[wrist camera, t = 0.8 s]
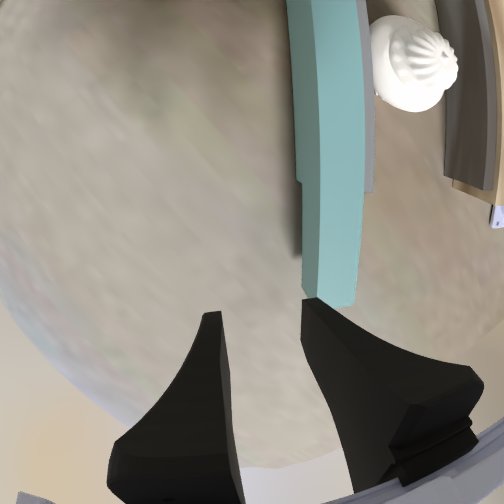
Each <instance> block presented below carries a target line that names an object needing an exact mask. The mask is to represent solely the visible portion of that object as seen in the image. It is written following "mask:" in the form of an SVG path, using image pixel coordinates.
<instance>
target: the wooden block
mask: <svg viewBox="0 0 504 504" xmlns="http://www.w3.org/2000/svg"><path fill="white" fill-rule="evenodd" d="M435 2H436V7H437V12H438V18H439V25H440V31H441V36H442V37H443V39H446V40H448V42H449V46H450V47H452V48H453V49H454V55H455V56H456V57H457V62H456V63H457V65H458V72H457V78H456V80H455V82H454V83H453V84H452V85H451V87H450V88H448V89H446V152H445V169H444V176H447V177H449V178H452V179H454V180H453V188H455V189H458V190H460V191H462V192H465V193H467V194H470V195H472V196H474V197H477V198H479V199H481V200H483V201H486V202H488V203H490V204H492V205H494V206H502V205H504V0H435Z"/></svg>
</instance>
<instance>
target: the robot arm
mask: <svg viewBox="0 0 504 504" xmlns="http://www.w3.org/2000/svg"><path fill="white" fill-rule="evenodd" d="M490 226H491V227H492V228H501V227H504V205H502V206H494V205H493V210H492V216H491V221H490ZM300 340H301V343H302V347H303V350H304V353H305V356H306V359H307V362H308V364H309V366H310V368H311V370H312V372H313V374H314V377H315V379H316V381H317V383H318V385H319V387H320V389H321V391H322V393H323V395H324V397H325V399H326V402H327V404H328V406H329V408H330V411H331V413H332V416H333V419H334V422H335V425H336V428H337V431H338V435H339V438H340V441H341V444H342V448H343V451H344V455H345V458H346V462H347V465H348V469H349V474H350V478H351V482H352V486H353V491H354V494H352V495H349V496H346V497H343V498H340V499H337V500H333V501H330V502H326V503H323V504H477V503H478V502H480V501H481V500H482V499H483V498H485V497H486V496H488V495H489V494H490V493H491V492H493V491H494V490H495V489H497V488H498V487H499V486H500V485H502V484H503V483H504V417H503V418H502V419H500V420H499V421H497V422H496V423H494V424H493V425H492V426H490V427H489V428H487V429H486V430H484V431H483V432H481V433H480V434H478V435H477V436H475V434H474V433H473V431H472V430H471V429H470V426H471V425H472V420H471V419H470V418H469V414H470V413H471V411H472V410H473V408H474V406H475V405H476V404H477V402H478V400H479V399H480V397H481V395H482V393H483V390H484V383H483V381H482V380H481V379H480V378H479V377H478V375H477V374H476V373H475V372H474V371H473V369H472V368H471V367H470V366H465V365H459V364H453V363H447V362H442V361H438V360H435V359H431V358H427V357H424V356H421V355H417V354H415V353H412V352H409V351H407V350H404V349H401V348H399V347H397V346H394V345H392V344H390V343H388V342H386V341H384V340H382V339H380V338H378V337H376V336H374V335H373V334H371V333H369V332H367V331H366V330H364V329H362V328H361V327H359V326H358V325H356V324H355V323H353V322H352V321H350V320H349V319H347V318H346V317H344V316H343V315H341V314H340V313H339V312H337V311H336V310H334V309H333V308H332V307H330V306H329V305H328V304H326V303H325V302H323V301H322V300H321V299H319V298H318V297H315V298H309V299H302V316H301V339H300ZM107 487H108V488H109V489H110V490H111V491H112V493H114V494H115V495H116V496H117V497H118V498H119V499H121V500H122V501H123V502H124V503H125V504H246V503H245V497H244V493H243V487H242V481H241V476H240V470H239V464H238V459H237V453H236V447H235V440H234V434H233V426H232V409H231V384H230V369H229V363H228V356H227V349H226V342H225V335H224V328H223V321H222V314H221V311H215V312H207V313H204V314H203V315H202V320H201V323H200V327H199V330H198V332H197V335H196V337H195V340H194V342H193V344H192V347H191V349H190V351H189V353H188V355H187V357H186V359H185V361H184V363H183V365H182V367H181V368H180V370H179V372H178V373H177V375H176V377H175V378H174V380H173V381H172V383H171V384H170V386H169V387H168V388H167V390H166V391H165V392H164V394H163V395H162V396H161V398H160V399H159V400H158V401H157V402H156V404H155V405H154V406H153V407H152V408H151V409H150V410H149V411H148V412H147V413H146V414H145V415H144V416H143V418H142V419H141V420H140V421H139V422H138V423H137V424H135V425H134V426H133V427H132V428H131V429H130V430H129V431H127V432H126V433H125V434H124V435H123V436H121V437H120V438H119V439H118V440H116V441H115V443H114V446H113V449H112V452H111V456H110V459H109V465H108V474H107ZM16 504H55V503H53V502H51V501H49V500H47V499H44V498H41V497H37V496H34V495H30V494H27V493H24V492H18V497H17V502H16Z"/></svg>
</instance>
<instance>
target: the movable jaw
mask: <svg viewBox="0 0 504 504" xmlns="http://www.w3.org/2000/svg"><path fill="white" fill-rule="evenodd" d="M286 4H287V15H288V26H289V39H290V52H291V67H292V83H293V101H294V122H295V149H296V180H298V181H299V182H301V183H302V288H303V290H304V292H305V294H306V295H307V297H308V299H309V298H315V297H318V298H319V299H321V300H322V301H323V302H325V303H326V304H328V305H329V306H330V307H332V308H333V309H335V308H340V307H345V306H351V305H354V297H355V290H356V282H357V273H358V264H359V254H360V243H361V231H362V217H363V200H364V193H373V190H374V166H375V103H374V80H373V64H372V51H371V41H370V31H369V22H368V14H367V7H366V0H286Z"/></svg>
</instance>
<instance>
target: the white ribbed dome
mask: <svg viewBox="0 0 504 504" xmlns="http://www.w3.org/2000/svg"><path fill="white" fill-rule="evenodd" d="M369 31H370V41H371V51H372V64H373V80H374V93H375V94H376V95H378V96H379V97H380V98H381V99H382V100H385V101H386V102H388V103H389V104H391V105H393V106H394V107H396V108H399V109H401V110H405V111H409V112H420V111H424V110H427V109H429V108H431V107H432V106H434V105H435V104H436V103H437V102H438V101H439V100H440V99H441V97H442V95H443V93H444V90H445V89H448V88H450V87H451V85H452V84H453V83H454V82H455V80H456V78H457V72H458V65H457V63H456V62H457V57H456V56H455V55H454V49H453V48H452V47H450V46H449V42H448V40H446V39H443V37H442V36H441V34H440V33H438V32H435V33H434V32H433V31H432V30H430V29H427V28H425V27H424V26H423V25H422V24H420V23H419V22H417V21H415V20H413V19H410V18H407V17H404V16H398V15H389V16H384V17H381V18H379V19H377V20H376V21H374V22H373V23H372V24H371V25H370V26H369Z"/></svg>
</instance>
